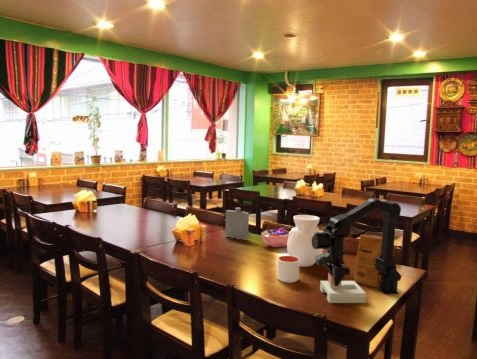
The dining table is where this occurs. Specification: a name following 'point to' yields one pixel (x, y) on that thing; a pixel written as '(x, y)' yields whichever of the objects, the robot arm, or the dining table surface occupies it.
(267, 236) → the cell model
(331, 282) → the peg
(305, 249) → the white vase
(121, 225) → the dining table surface
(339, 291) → the keyhole plate
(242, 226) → the hip flask
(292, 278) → the cup
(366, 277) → the coffee package
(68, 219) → the dining table surface
